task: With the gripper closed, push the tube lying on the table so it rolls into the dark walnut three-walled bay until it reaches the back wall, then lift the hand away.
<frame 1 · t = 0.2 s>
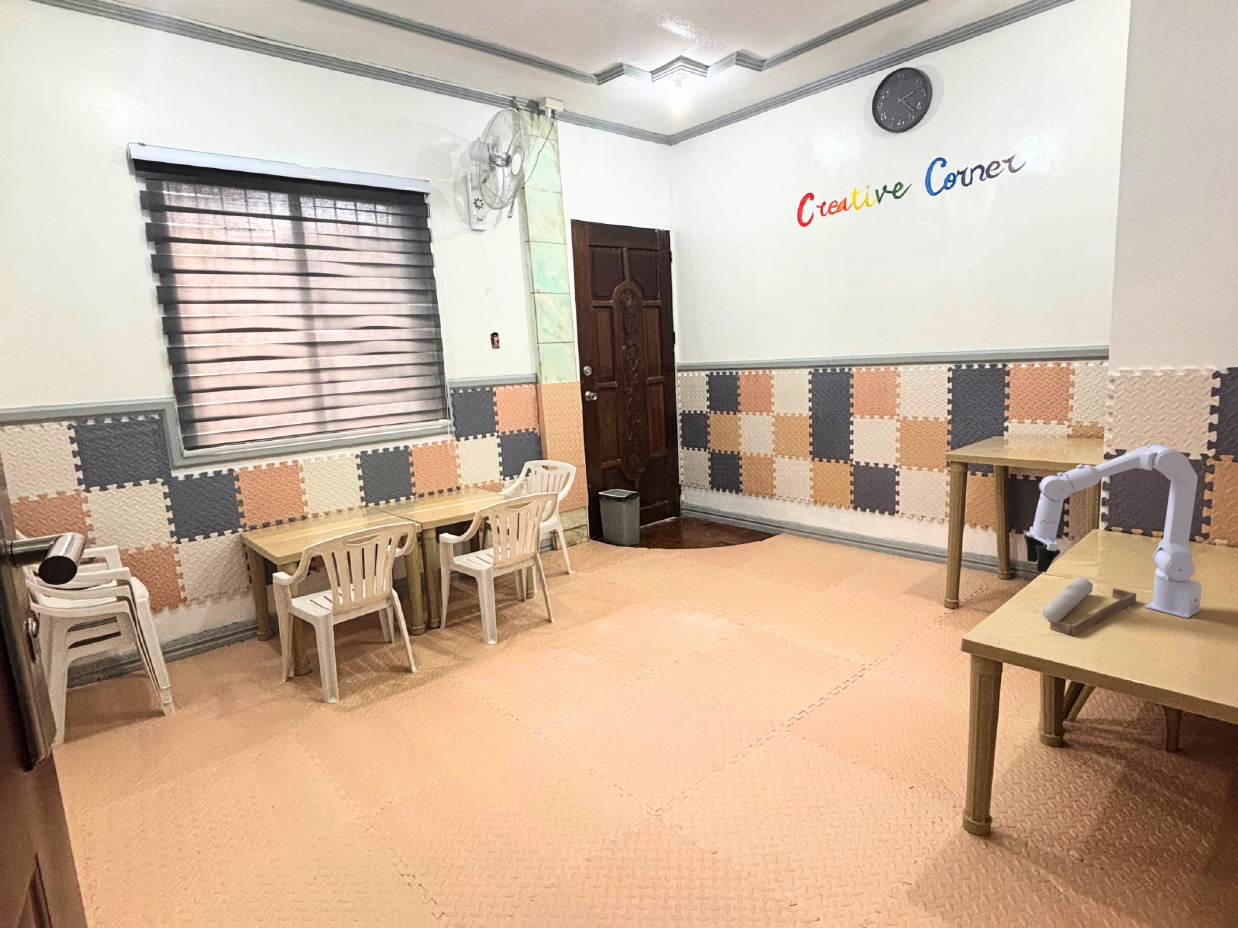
hand: (1036, 566, 195), 10 cm above the table, tool pointing down, fingers open, 7 cm apart
bay: (1087, 613, 188), on the table
tube: (1066, 609, 192), on the table
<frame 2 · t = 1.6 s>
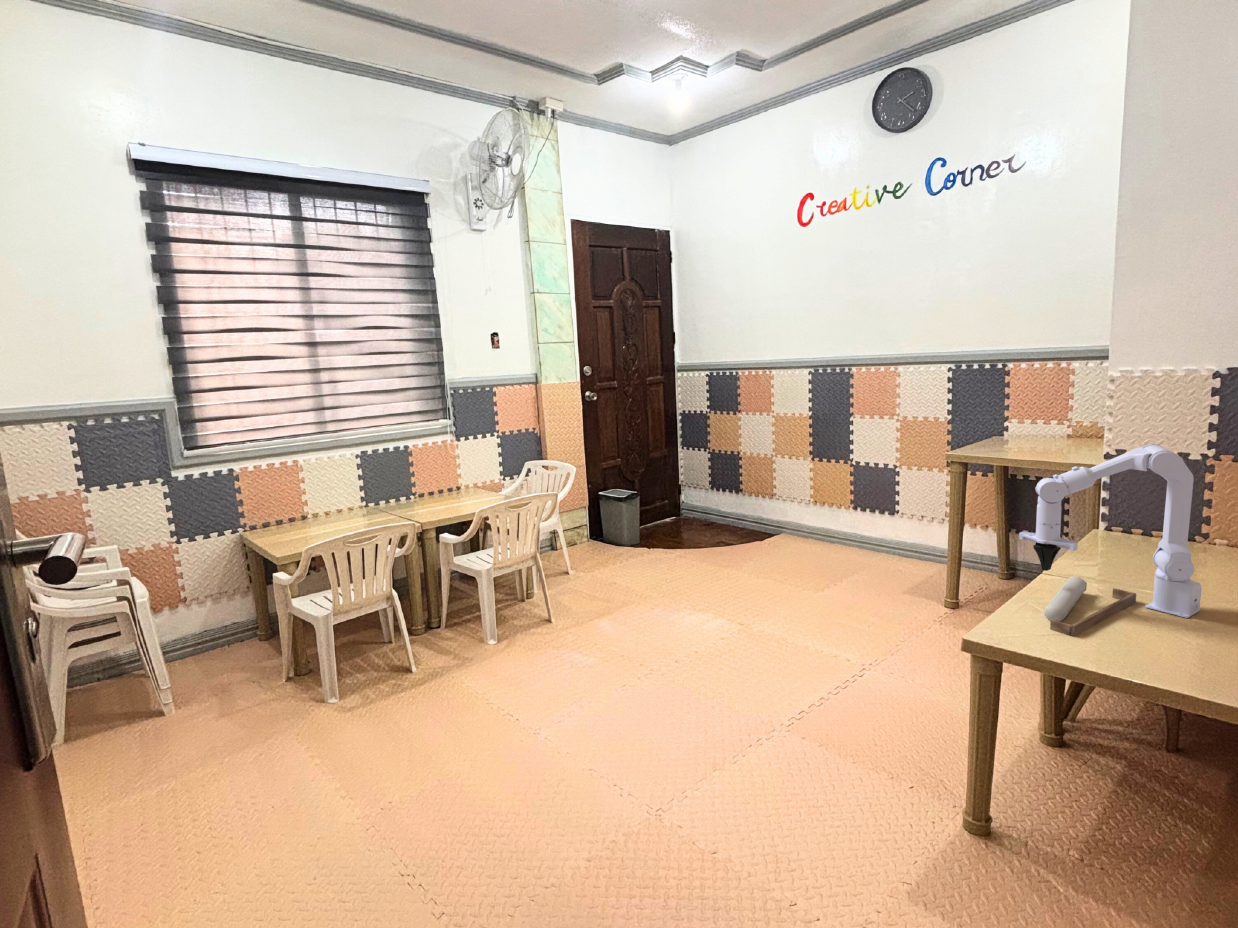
hand: (1046, 569, 195), 9 cm above the table, tool pointing down, fingers closed
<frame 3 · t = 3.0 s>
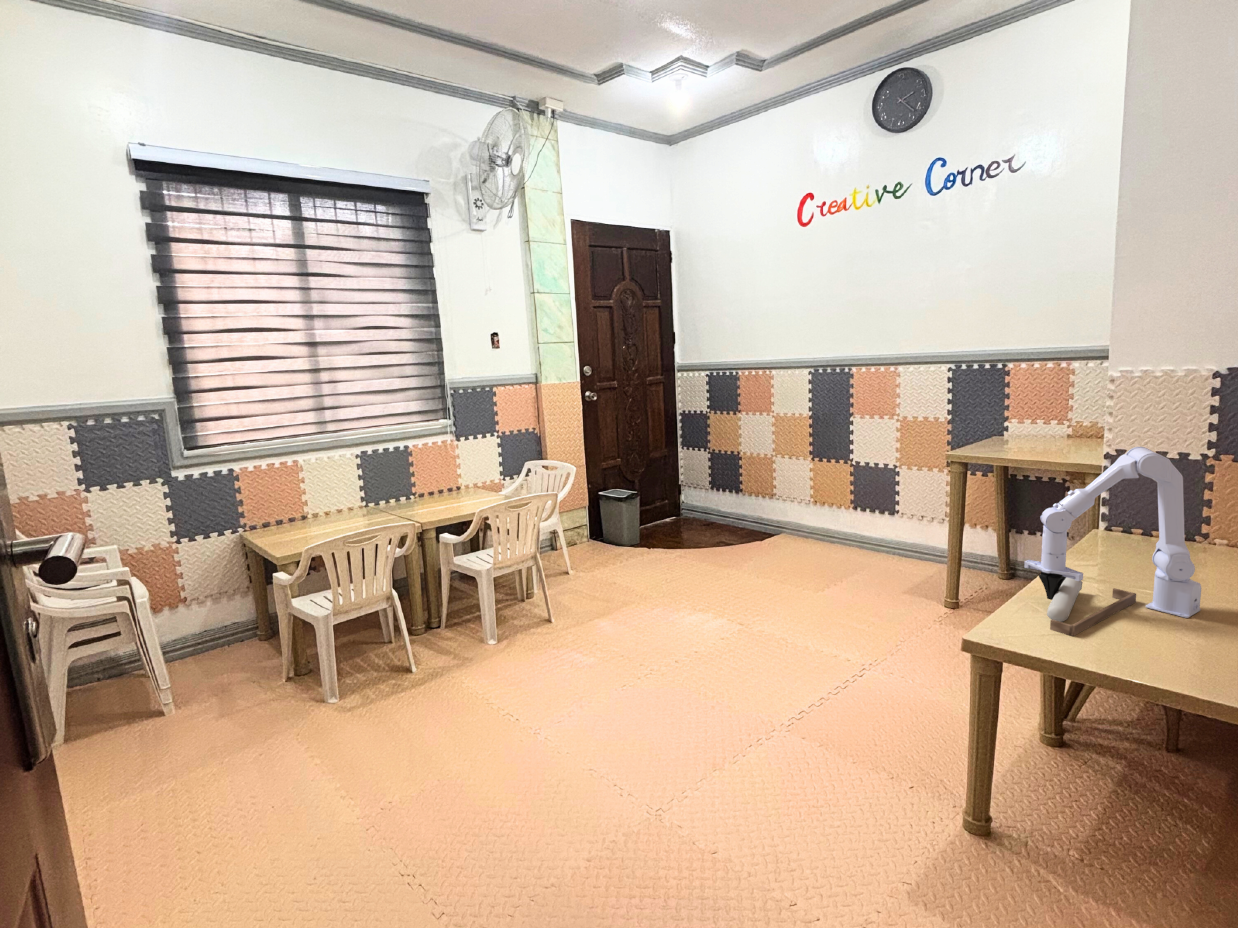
hand: (1051, 598, 195), 1 cm above the table, tool pointing down, fingers closed
tube: (1063, 608, 193), on the table, touching gripper
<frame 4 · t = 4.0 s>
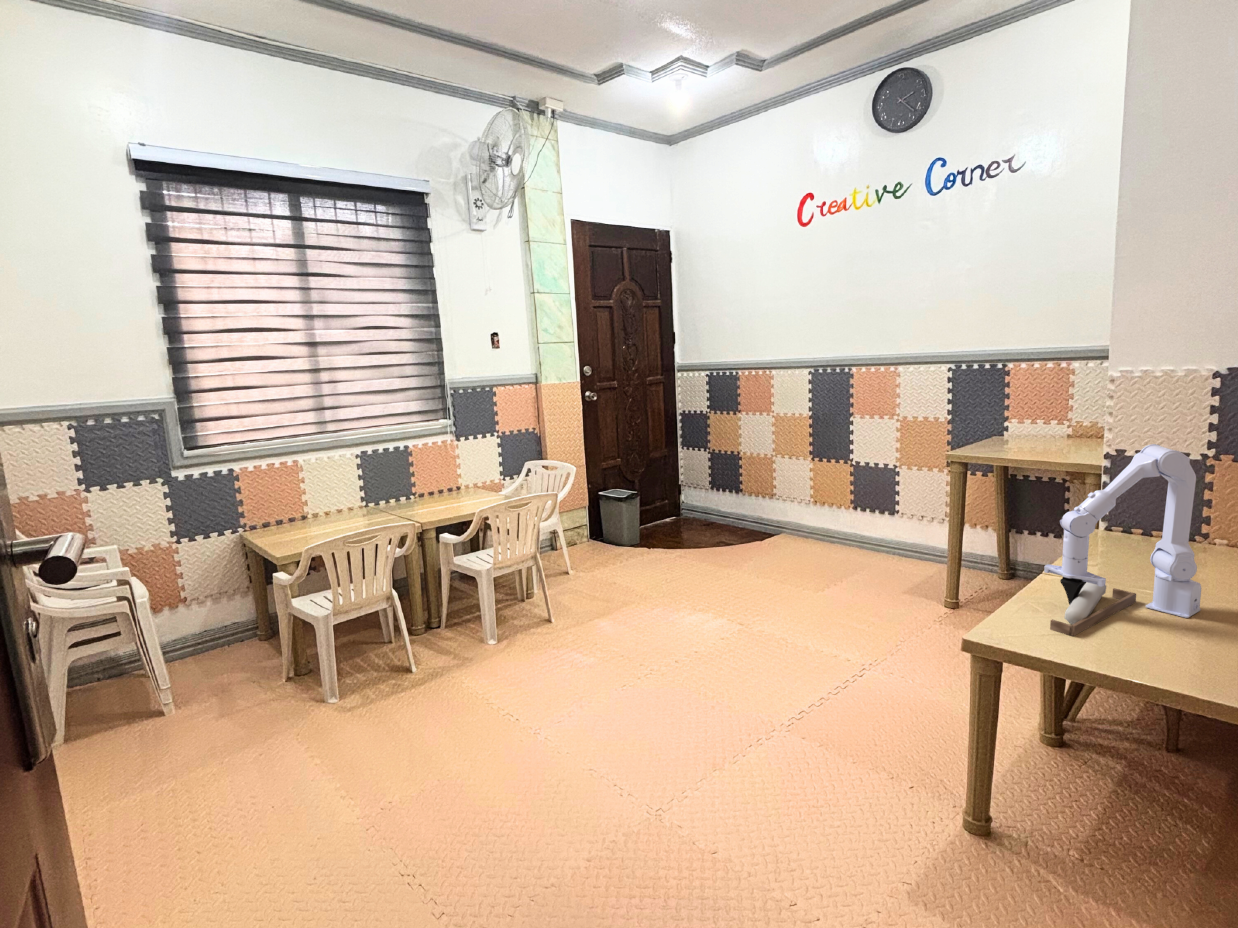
hand: (1072, 603, 191), 1 cm above the table, tool pointing down, fingers closed, pressing on tube
tube: (1083, 611, 190), on the table, touching bay, gripper
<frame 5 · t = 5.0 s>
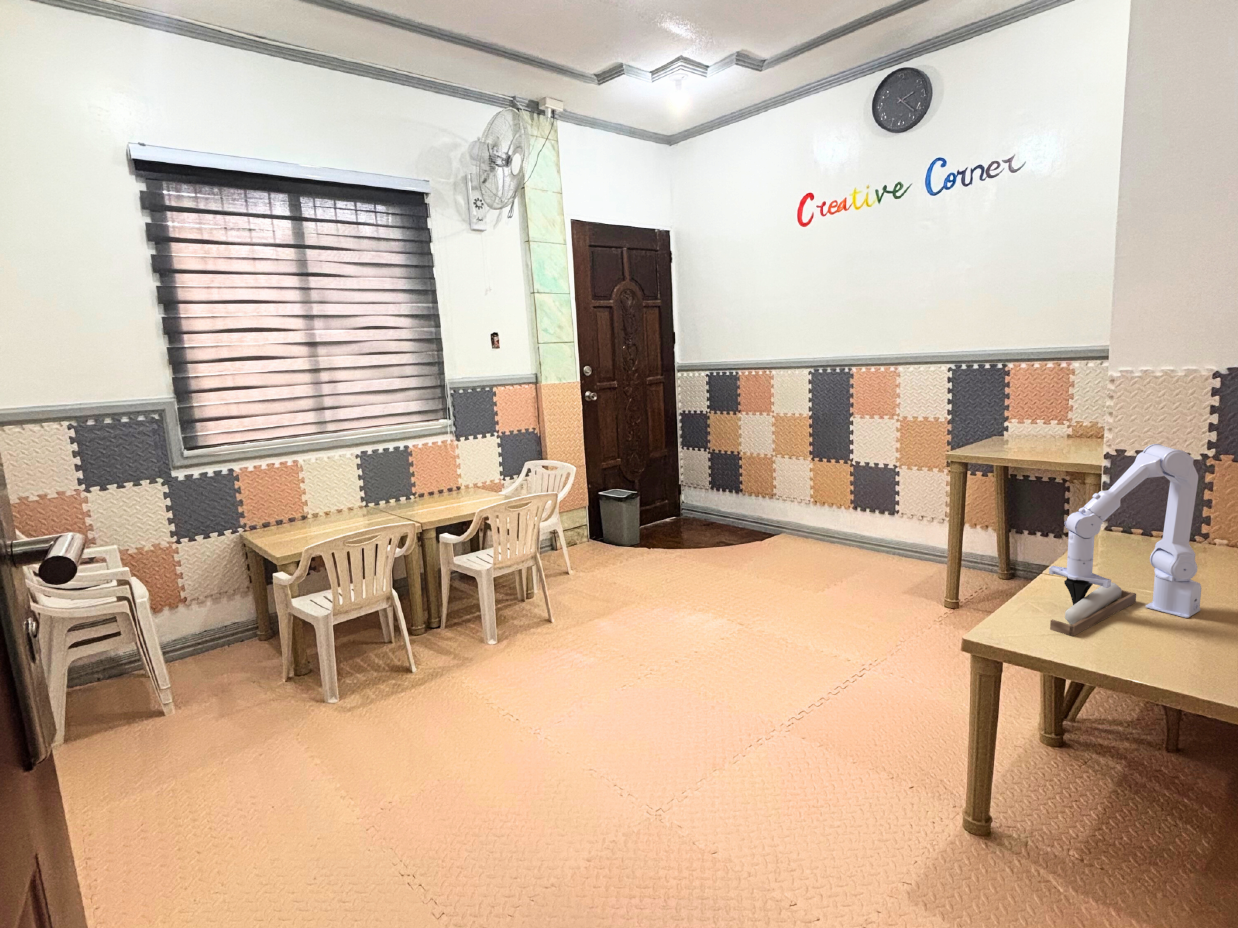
hand: (1077, 605, 190), 1 cm above the table, tool pointing down, fingers closed
tube: (1091, 613, 188), on the table, touching gripper
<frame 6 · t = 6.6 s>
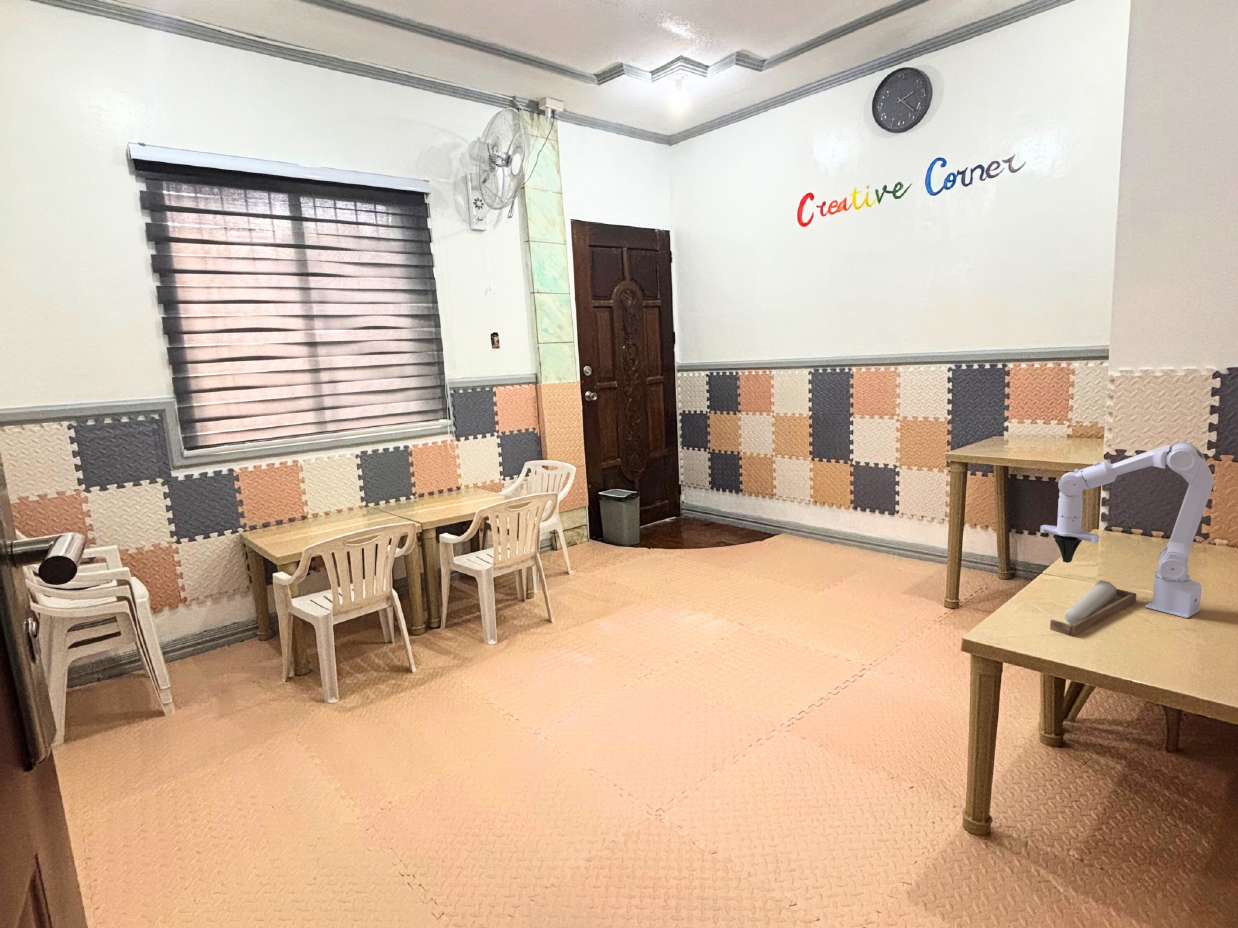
hand: (1067, 561, 200), 9 cm above the table, tool pointing down, fingers closed
tube: (1089, 612, 189), on the table
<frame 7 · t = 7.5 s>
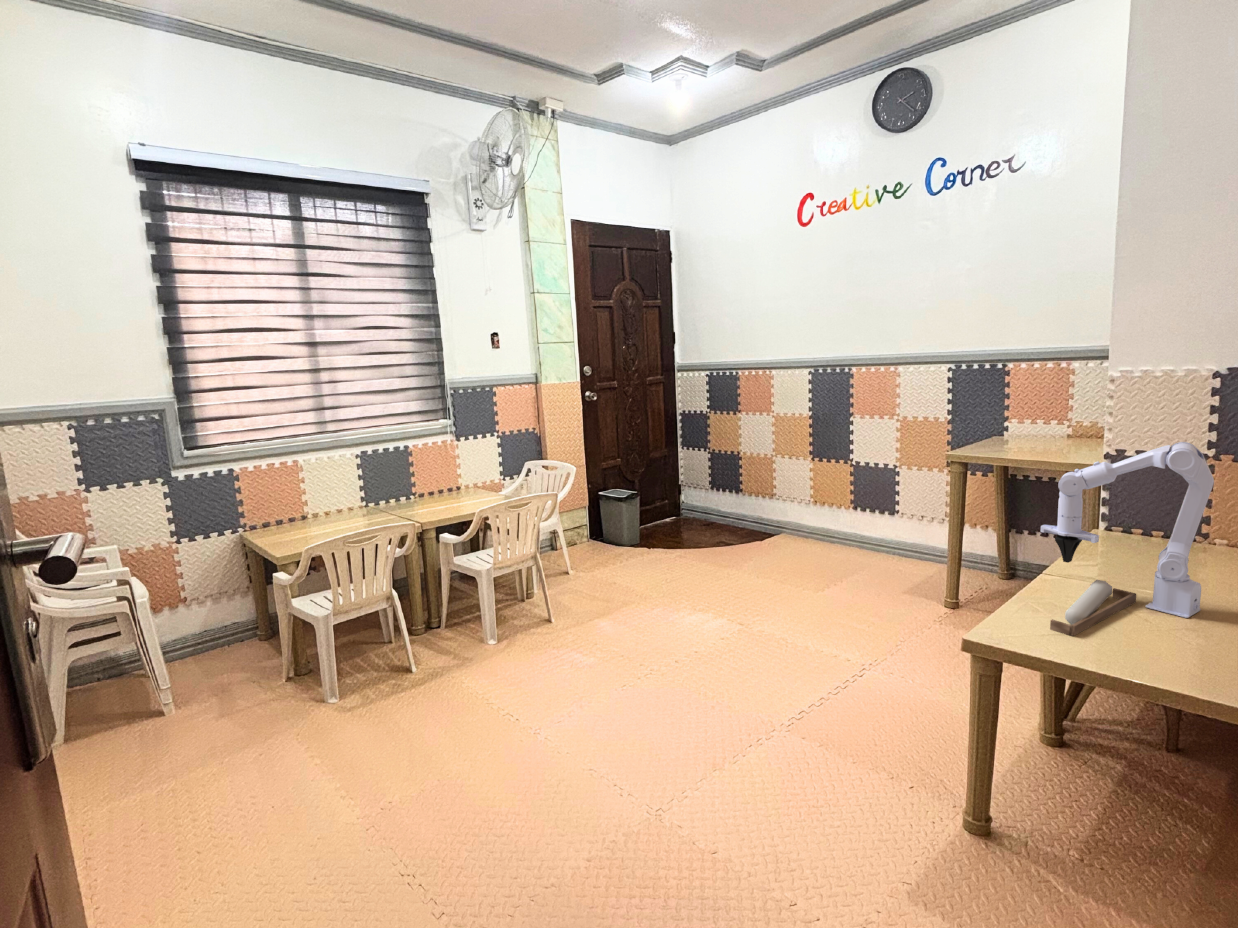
hand: (1067, 561, 200), 9 cm above the table, tool pointing down, fingers closed
nothing on the table moved.
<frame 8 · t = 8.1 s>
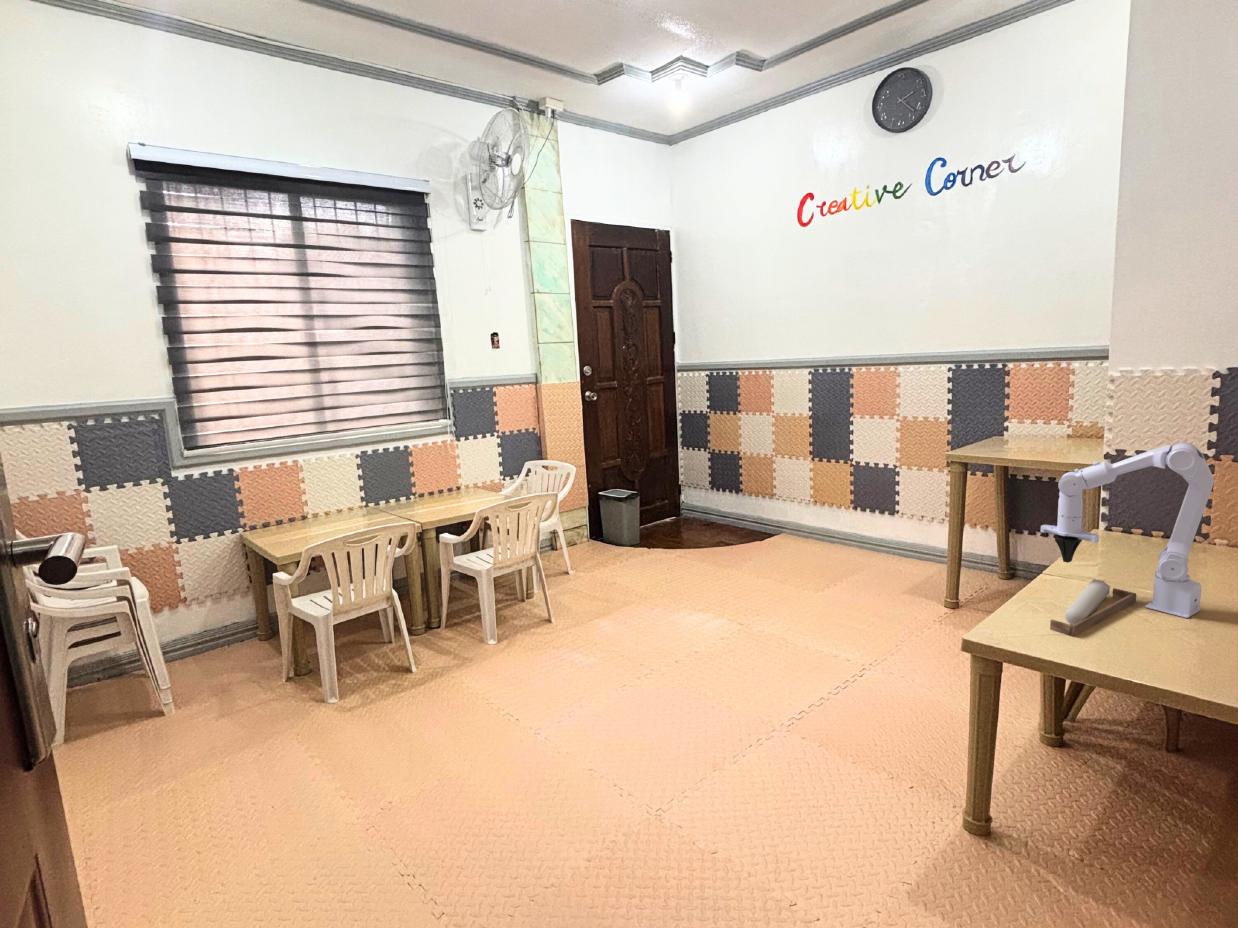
hand: (1067, 561, 200), 9 cm above the table, tool pointing down, fingers closed
nothing on the table moved.
at the end: tube 2.0 cm off-centre on the bay, point -0.5 cm above the bay's base; tube moved 4.4 cm from its start; the gripper is holding nothing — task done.
